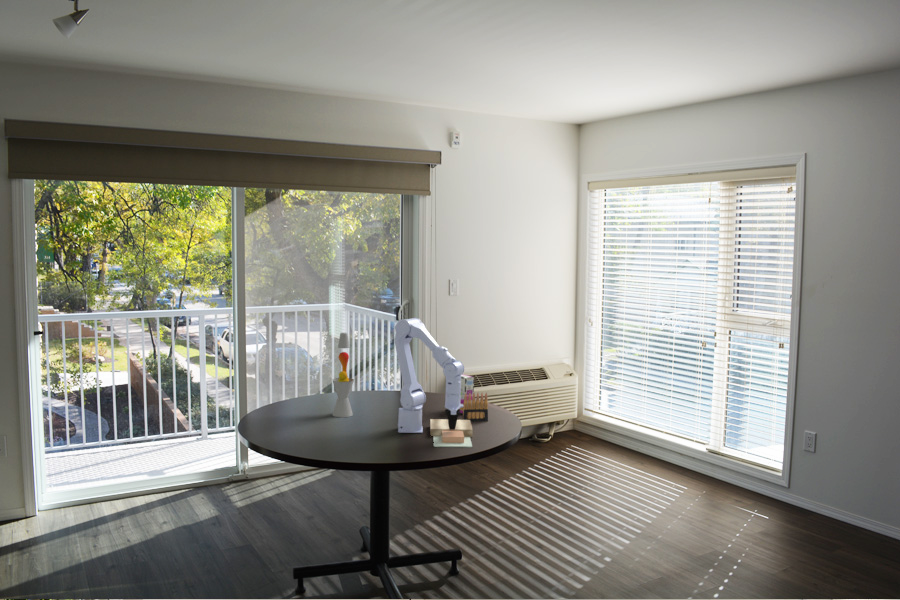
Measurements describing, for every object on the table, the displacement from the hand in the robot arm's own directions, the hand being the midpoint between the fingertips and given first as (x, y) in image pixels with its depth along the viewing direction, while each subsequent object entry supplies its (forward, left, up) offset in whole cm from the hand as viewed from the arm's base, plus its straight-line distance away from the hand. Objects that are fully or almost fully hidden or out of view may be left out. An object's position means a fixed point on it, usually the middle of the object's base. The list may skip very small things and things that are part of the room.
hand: (452, 428), depth 242 cm
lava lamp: (-45, +32, -4) cm, 55 cm away
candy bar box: (+6, +40, -4) cm, 40 cm away
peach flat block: (0, -3, -3) cm, 4 cm away
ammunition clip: (+11, +26, -4) cm, 28 cm away
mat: (0, -5, -4) cm, 6 cm away
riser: (0, +9, -4) cm, 10 cm away
